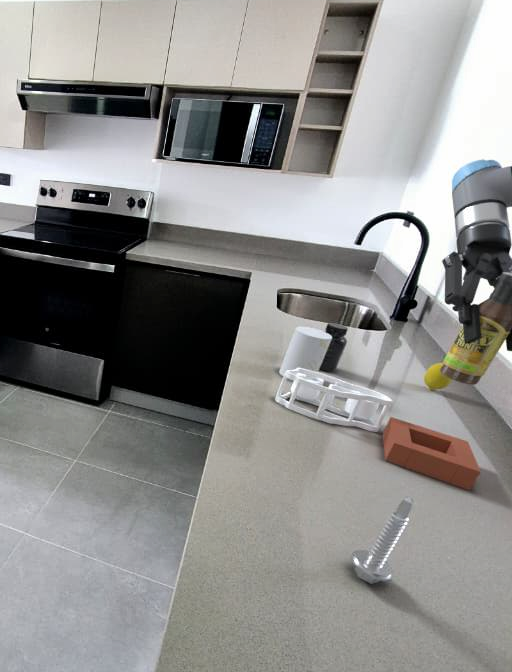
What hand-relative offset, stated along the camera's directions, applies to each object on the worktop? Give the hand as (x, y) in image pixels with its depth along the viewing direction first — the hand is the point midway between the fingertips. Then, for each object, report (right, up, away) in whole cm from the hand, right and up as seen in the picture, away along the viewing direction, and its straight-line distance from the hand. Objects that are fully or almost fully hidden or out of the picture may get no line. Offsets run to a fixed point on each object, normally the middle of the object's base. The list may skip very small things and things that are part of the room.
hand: (494, 343), depth 86 cm
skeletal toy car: (-16, -14, +23) cm, 31 cm away
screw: (-36, -31, -21) cm, 52 cm away
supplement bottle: (-1, -4, +50) cm, 50 cm away
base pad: (-5, -22, +10) cm, 24 cm away
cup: (-13, -6, +41) cm, 43 cm away
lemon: (+25, -10, +45) cm, 52 cm away
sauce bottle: (0, -6, +7) cm, 9 cm away
